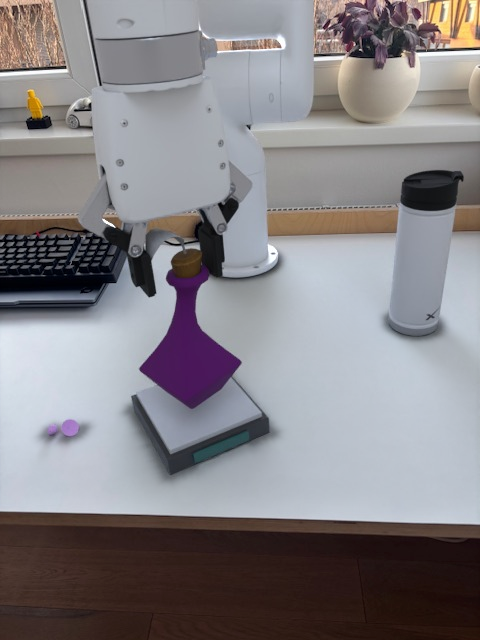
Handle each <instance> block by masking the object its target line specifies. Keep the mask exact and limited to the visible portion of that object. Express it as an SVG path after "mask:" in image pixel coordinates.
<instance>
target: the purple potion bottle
mask: <svg viewBox="0 0 480 640" xmlns="http://www.w3.org/2000/svg"><path fill="white" fill-rule="evenodd" d="M172 238H174V240H176V242H178V243H179V244H180V245H181V247H182V249H181V250H179V251H178V252H176V253H175V254H174V255H173V256H172V258H171V259H170V265H171V268H170V269H169V270H168V271H167V273H166V276H165V281H166V283H167V284H168V285H169V286H170V287H173V288H174V290H175V295H176V296H175V298H176V299H175V303H174V312H173V314H172V318H171V321H170V325H169V326H168V329H167V332H166V334H165V335H164V337H163V338H162V340H161V341H160V343H158V345H157V346H156V348H155V349H154V350H153V351H152V353H151V354H149V356H148V357H147V358H146V359H145V360H144V362H143V363H142V364H141V365H140V366H139V368H138V370H139V372H140V373H141V374H143V375H144V376H145V377H146V378H148V379H149V380H150V381H152V383H154V384H155V385H158V386H159V387H161V388H162V389H163V390H165V391H166V392H167V393H169V394H170V395H171V396H173V397H174V398H176V399H177V400H179V401H180V402H182V403H183V404H184V405H186V406H187V407H189V408H190V409H194V408H195V407H197V406H198V405H200V404H201V403H202V402H204V401H205V400H207V399H208V398H209V397H211V396H212V395H214V394H215V393H217V392H218V391H219V390H221V389H222V388H223V386H224V385H225V384H226V383H227V381H228V380H229V379H230V378H231V376H232V377H233V375H234V374H235V373H236V371H237V370H239V368H240V367H241V365H242V363H243V362H242V360H241V359H240V358H239V357H237V356H236V355H234V354H233V353H231V352H230V351H228V350H227V349H226V348H225V347H223V346H222V345H220V344H219V343H218V342H217V341H216V340H215V339H213V338H212V337H211V336H210V335H208V333H206V332H205V331H203V329H202V327H201V326H200V324H199V323H198V317H197V311H196V310H197V297H198V293H199V290H200V288H201V286H202V285H203V284H205V283H206V282H208V281H209V278H210V276H211V273H210V271H209V269H208V268H207V267H206V266H205V265H202V252H201V251H200V249H198V248H192V247H190V248H186V247H185V238H183V237H182V236H180V235H178V234H176V233H175V232H174V231H172V230H166V229H161V228H151V229H150V230H149V231H147V233H146V238H145V243H144V248H145V251H146V252H147V253H148V254H149V255H150V257H151V262H153V259H154V256H155V254H156V252H157V251H158V250H159V248H160V247H161V245H163V243H165V242H166V241H167V240H169V239H172Z"/></svg>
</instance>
